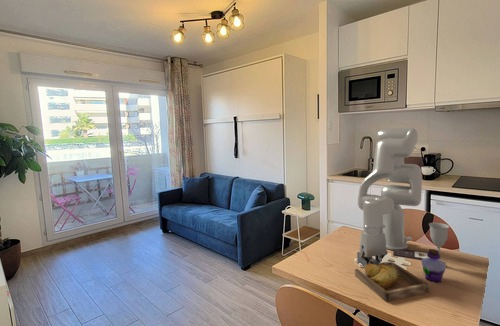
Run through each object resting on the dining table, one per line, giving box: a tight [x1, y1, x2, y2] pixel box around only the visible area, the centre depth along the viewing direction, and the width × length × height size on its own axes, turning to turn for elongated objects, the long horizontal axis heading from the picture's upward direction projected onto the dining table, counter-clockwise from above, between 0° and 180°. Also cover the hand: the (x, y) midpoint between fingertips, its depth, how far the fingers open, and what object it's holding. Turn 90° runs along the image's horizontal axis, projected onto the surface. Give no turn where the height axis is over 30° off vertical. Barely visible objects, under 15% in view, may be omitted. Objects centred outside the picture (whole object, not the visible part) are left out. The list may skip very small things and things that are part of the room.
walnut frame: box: [354, 261, 430, 303], centre depth 107 cm, size 18×18×3 cm
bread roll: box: [364, 263, 399, 290], centre depth 108 cm, size 13×10×8 cm
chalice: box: [428, 222, 450, 261], centre depth 118 cm, size 7×7×18 cm
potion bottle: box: [420, 248, 447, 284], centre depth 108 cm, size 9×9×12 cm
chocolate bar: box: [392, 248, 429, 261], centre depth 130 cm, size 9×1×18 cm
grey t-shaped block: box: [356, 251, 392, 277], centre depth 119 cm, size 12×13×5 cm
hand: (373, 270), depth 117 cm, fingers closed on grey t-shaped block, 2 cm apart
